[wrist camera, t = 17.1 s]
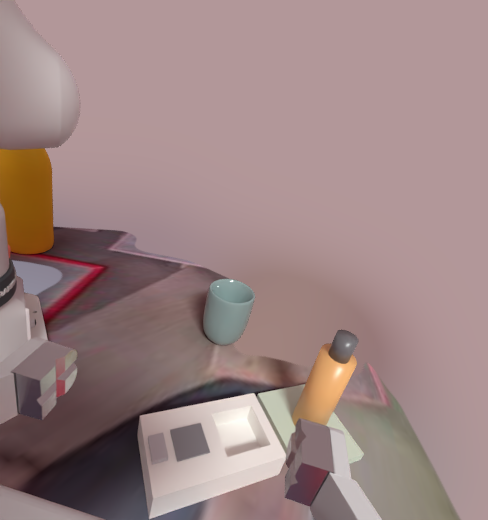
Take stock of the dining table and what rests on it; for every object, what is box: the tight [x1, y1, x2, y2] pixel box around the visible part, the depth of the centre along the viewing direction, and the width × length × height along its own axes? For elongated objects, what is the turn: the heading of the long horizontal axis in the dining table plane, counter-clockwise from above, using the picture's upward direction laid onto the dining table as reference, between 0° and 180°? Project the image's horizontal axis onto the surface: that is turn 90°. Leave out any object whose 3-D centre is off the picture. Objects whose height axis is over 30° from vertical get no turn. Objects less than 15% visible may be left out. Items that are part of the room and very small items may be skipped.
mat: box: [257, 384, 364, 464], centre depth 44 cm, size 12×10×1 cm
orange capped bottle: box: [292, 330, 358, 425], centre depth 41 cm, size 4×4×15 cm
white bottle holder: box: [137, 393, 286, 519], centre depth 37 cm, size 15×9×4 cm, turn 113°
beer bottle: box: [0, 148, 54, 254], centre depth 65 cm, size 9×9×29 cm
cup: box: [203, 279, 255, 345], centre depth 56 cm, size 8×8×10 cm
